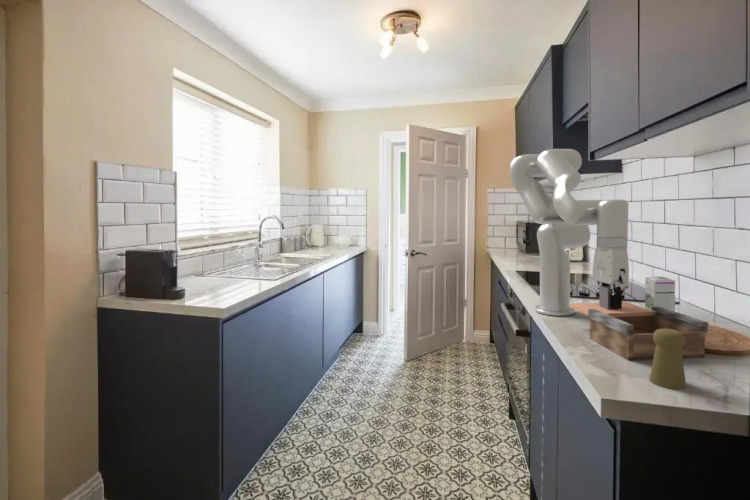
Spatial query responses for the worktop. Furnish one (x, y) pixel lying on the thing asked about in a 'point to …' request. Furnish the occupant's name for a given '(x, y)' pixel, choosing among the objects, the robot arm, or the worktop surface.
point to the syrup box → (659, 293)
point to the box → (646, 333)
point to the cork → (668, 359)
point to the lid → (603, 306)
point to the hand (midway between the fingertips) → (610, 305)
